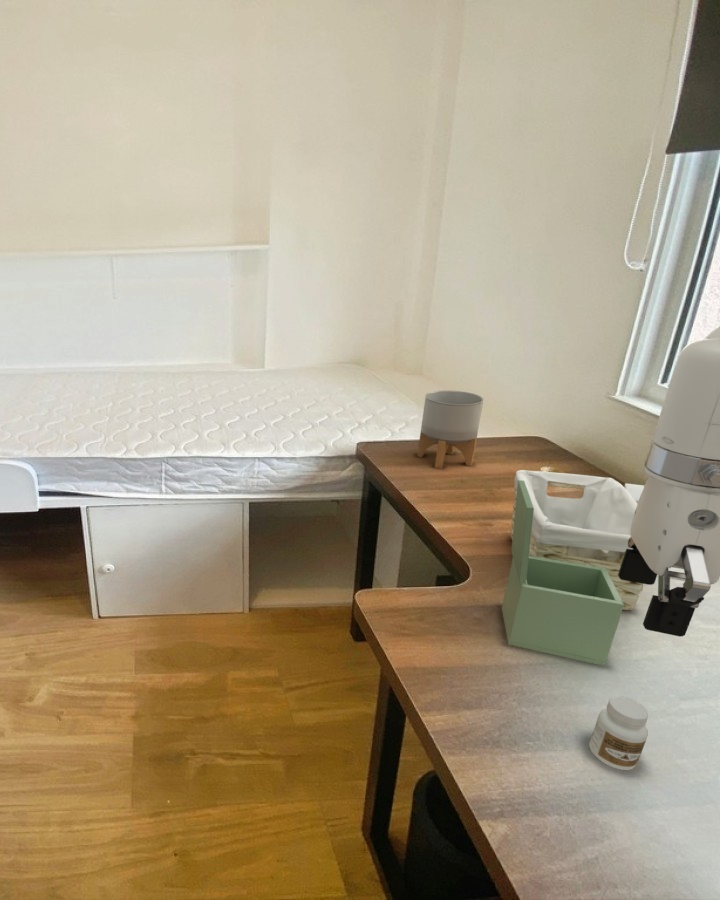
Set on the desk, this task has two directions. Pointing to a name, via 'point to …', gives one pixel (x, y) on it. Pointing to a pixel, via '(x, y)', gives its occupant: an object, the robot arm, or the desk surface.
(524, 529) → the lid
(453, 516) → the desk surface
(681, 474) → the robot arm
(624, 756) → the pill bottle
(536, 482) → the basket
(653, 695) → the desk surface
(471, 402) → the planter
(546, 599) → the chest
